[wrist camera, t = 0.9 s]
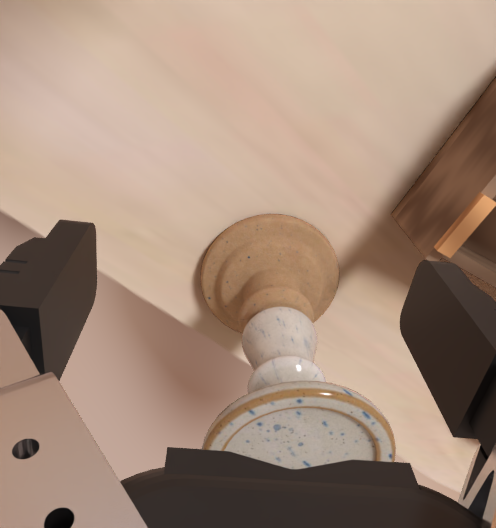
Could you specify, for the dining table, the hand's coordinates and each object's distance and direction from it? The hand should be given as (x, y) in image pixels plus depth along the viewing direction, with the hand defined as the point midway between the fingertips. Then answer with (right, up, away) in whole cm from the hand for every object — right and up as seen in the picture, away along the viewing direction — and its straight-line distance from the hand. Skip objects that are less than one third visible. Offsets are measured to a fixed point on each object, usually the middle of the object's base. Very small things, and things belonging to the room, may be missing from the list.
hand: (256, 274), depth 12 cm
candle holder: (+2, -1, +31) cm, 31 cm away
